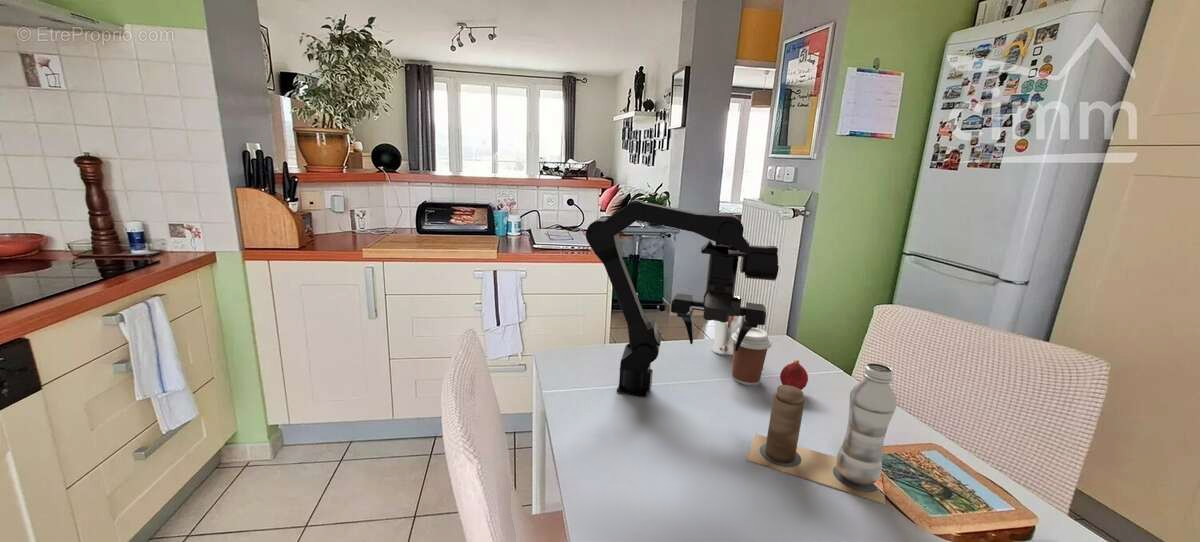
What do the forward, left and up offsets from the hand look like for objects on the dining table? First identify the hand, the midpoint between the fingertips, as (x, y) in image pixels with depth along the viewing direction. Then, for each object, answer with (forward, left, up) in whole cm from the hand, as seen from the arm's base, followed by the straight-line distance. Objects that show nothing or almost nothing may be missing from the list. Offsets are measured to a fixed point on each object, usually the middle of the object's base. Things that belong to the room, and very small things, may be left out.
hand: (713, 347), depth 99 cm
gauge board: (+19, -17, -12) cm, 28 cm away
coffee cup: (+8, +13, -12) cm, 20 cm away
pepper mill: (+14, -16, -12) cm, 24 cm away
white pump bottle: (+2, +28, -12) cm, 31 cm away
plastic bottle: (+26, -18, -12) cm, 34 cm away
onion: (+18, +10, -12) cm, 24 cm away
